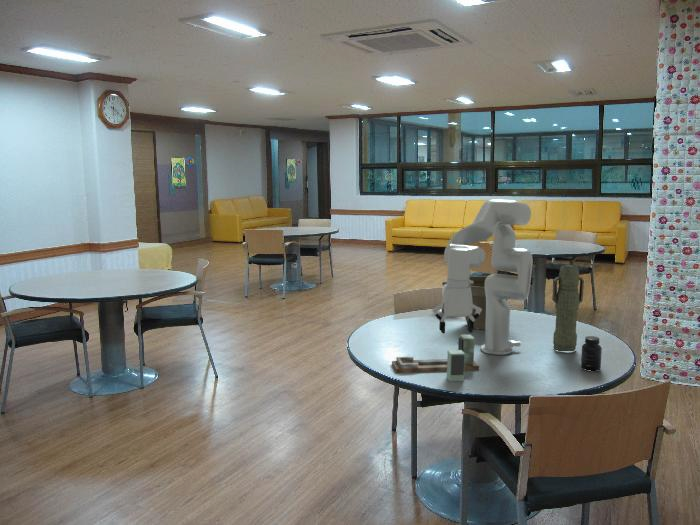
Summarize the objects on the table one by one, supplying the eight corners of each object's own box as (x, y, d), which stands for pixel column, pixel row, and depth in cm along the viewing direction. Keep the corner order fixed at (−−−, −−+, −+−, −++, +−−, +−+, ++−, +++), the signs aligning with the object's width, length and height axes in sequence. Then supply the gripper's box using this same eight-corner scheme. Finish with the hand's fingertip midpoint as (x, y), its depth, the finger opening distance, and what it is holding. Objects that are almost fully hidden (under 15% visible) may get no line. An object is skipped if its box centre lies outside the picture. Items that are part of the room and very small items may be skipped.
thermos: (545, 347, 246) (550, 264, 240) (572, 346, 247) (577, 263, 242) (555, 353, 237) (560, 267, 231) (583, 352, 239) (589, 267, 233)
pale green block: (464, 381, 207) (465, 354, 205) (450, 382, 206) (451, 354, 204) (460, 376, 211) (461, 349, 209) (446, 377, 211) (447, 350, 209)
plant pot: (501, 336, 261) (503, 288, 258) (448, 328, 274) (449, 282, 270) (516, 323, 283) (518, 279, 279) (466, 317, 295) (467, 274, 292)
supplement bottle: (584, 364, 224) (586, 334, 222) (602, 368, 220) (605, 337, 218) (578, 369, 219) (580, 338, 217) (597, 373, 215) (599, 341, 213)
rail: (471, 361, 227) (472, 332, 225) (479, 369, 218) (480, 339, 217) (391, 364, 224) (392, 335, 222) (396, 372, 215) (396, 342, 213)
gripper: (478, 281, 208) (476, 328, 210) (430, 282, 206) (429, 329, 208) (486, 285, 201) (483, 334, 203) (436, 286, 199) (434, 335, 201)
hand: (456, 332), depth 206 cm, fingers open, 9 cm apart
